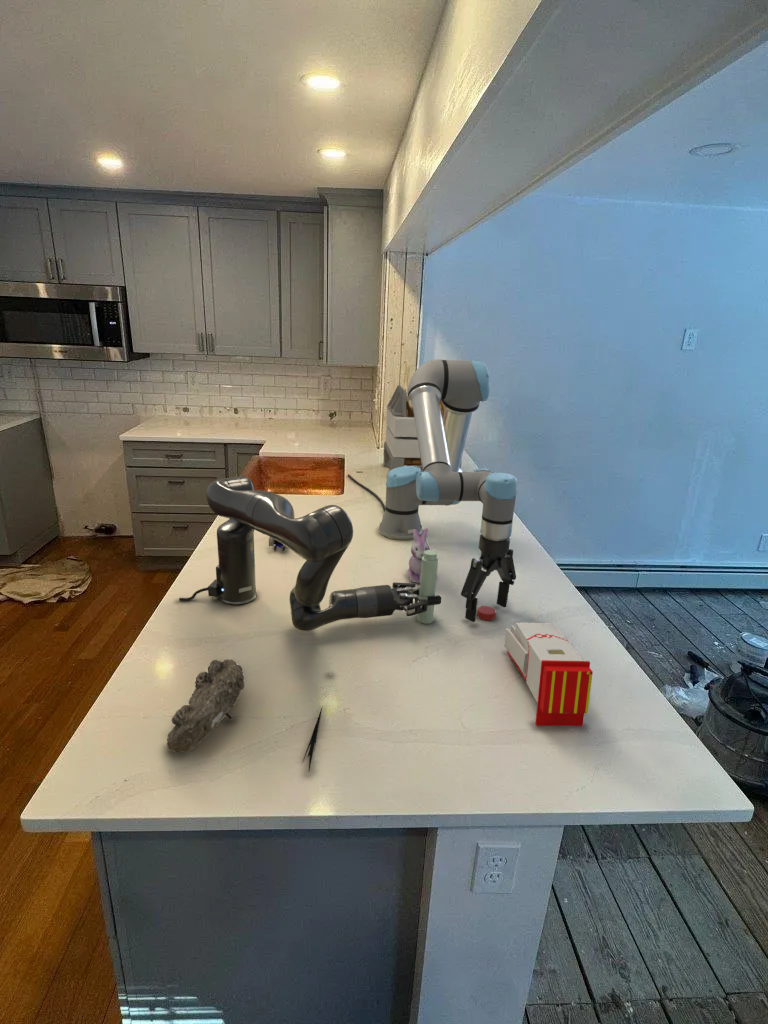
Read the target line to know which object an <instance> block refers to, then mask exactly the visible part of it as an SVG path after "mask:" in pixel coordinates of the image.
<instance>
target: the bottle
mask: <svg viewBox="0 0 768 1024" xmlns="http://www.w3.org/2000/svg"><path fill="white" fill-rule="evenodd" d="M438 564H439V557H438V554H437V551H435V550H433V549H430V550H426V551H424V556H423V557H422V562H421V576H420V583H419V587H420V590H419V596H420V597H427V596H436V590H437V589H436V588H437V577H438V568H439V567H438V566H439V565H438ZM418 602H421V600H419V601H418ZM420 608H421V607H420ZM434 613H435V605H429V606H427V611H425V612H422V613H419V614H417V618H416V619H417V621H418V622H419V623H421V624H431V623H432V622H434Z"/></svg>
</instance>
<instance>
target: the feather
mask: <svg viewBox="0 0 768 1024" xmlns="http://www.w3.org/2000/svg"><path fill="white" fill-rule="evenodd" d="M329 675H330V676H331V675H332V674H331V673H330V674H329ZM322 710H323V707H321V708H320V710H319V713H318V716H317V719H316V723H315V725H314V728H313V731H312V733H311V737H310V739H309V742H308V745H307V748H306V751H305V754H304V757H303V760H302V763H301V767H302V765H303V763H304V761H305V758H308V759H309V760H308V762H307V763H308V764H307V766H308V771H310V770H311V766H312V765H311V764H312V760H313V757H315V756H314V755H315V751H316V749H315V746H317V739H318V733H319V729H320V722H321V717H322V712H323V711H322ZM313 754H314V755H313ZM306 755H307V757H306Z"/></svg>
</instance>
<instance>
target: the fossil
mask: <svg viewBox="0 0 768 1024" xmlns="http://www.w3.org/2000/svg"><path fill="white" fill-rule="evenodd" d="M243 670H244V669H243V667H242V665H240V664H237V662H236V661H235V660H234V659H232V658H231V659H227V658H226V659H224V660H223V661H222V660H217V659H212V660H211V661H210V663H209V665H208V666H207V671H201V672H199V673H198V674H197V675H196V676H195V680H194V684H195V685H194V687H195V689H194V690H193V693H192V694H191V697H190V698H189V700H188V704H184V705H182V706H181V707H180V709H177V710H176V711H175V713H174V715H173V716H172V718H171V723H172V724H173V727H172V730H171V731H170V732H168V734H167V738H166V741H167V742H166V745H167V749H168V750H169V751H173V752H174V753H176V754H178V753H182V752H188V751H189V752H192V751H193V750H195V748H196V747H197V746H199V744H200V743H201V742H203V741H204V740H205V739H206V738H207V737H208V736H209V735H210V734H211V733H212V732H214V730H215V729H217V727H218V726H219V724H220V722H221V721H222V720H223V719H224V718H225V716H226V717H227V719H229V720H233V717H232V715H230V714H229V710H230V709H231V708H234V706H235V704H236V703H237V702H238V699H239V697H240V695H241V693H242V691H243V690H245V689H244V688H245V675H244V671H243Z"/></svg>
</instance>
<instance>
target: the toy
mask: <svg viewBox="0 0 768 1024" xmlns="http://www.w3.org/2000/svg"><path fill="white" fill-rule="evenodd" d="M503 645H504V647H505V649H506V650H507V655H508V656H509V658H510V659H511V662H513V664H514V666H515V667H516V669H517V670H518V672H519V673H520V675H521V676H522V679H523V680H524V681H525V683H526V686H527V687H528V689H529V690H530V693H531V694H532V696H533V698H534V700H535V701H536V703H537V704H536V714H535V722H534V723H535V726H537V727H541V726H542V727H583V726H584V719H585V715H586V714H587V715H588V714H589V706H590V705H589V704H590V699H591V691H592V683H593V682H592V681H593V674H594V673H593V672H594V671H593V670H592V669H591V668H590V667H591V661H590V660H584V659H583V658H582V657H581V655H580V654H579V653H578V651H577V650H576V649H575V648H574V647H573V645H572V644H571V643H570V642H569V640H568V639H567V638H566V636H564V633H562V632H561V630H560V629H559V628H558V627H557V625H556V624H555V623H553V622H515V624H511V625H510V628H506V630H505V638H504V644H503Z"/></svg>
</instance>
